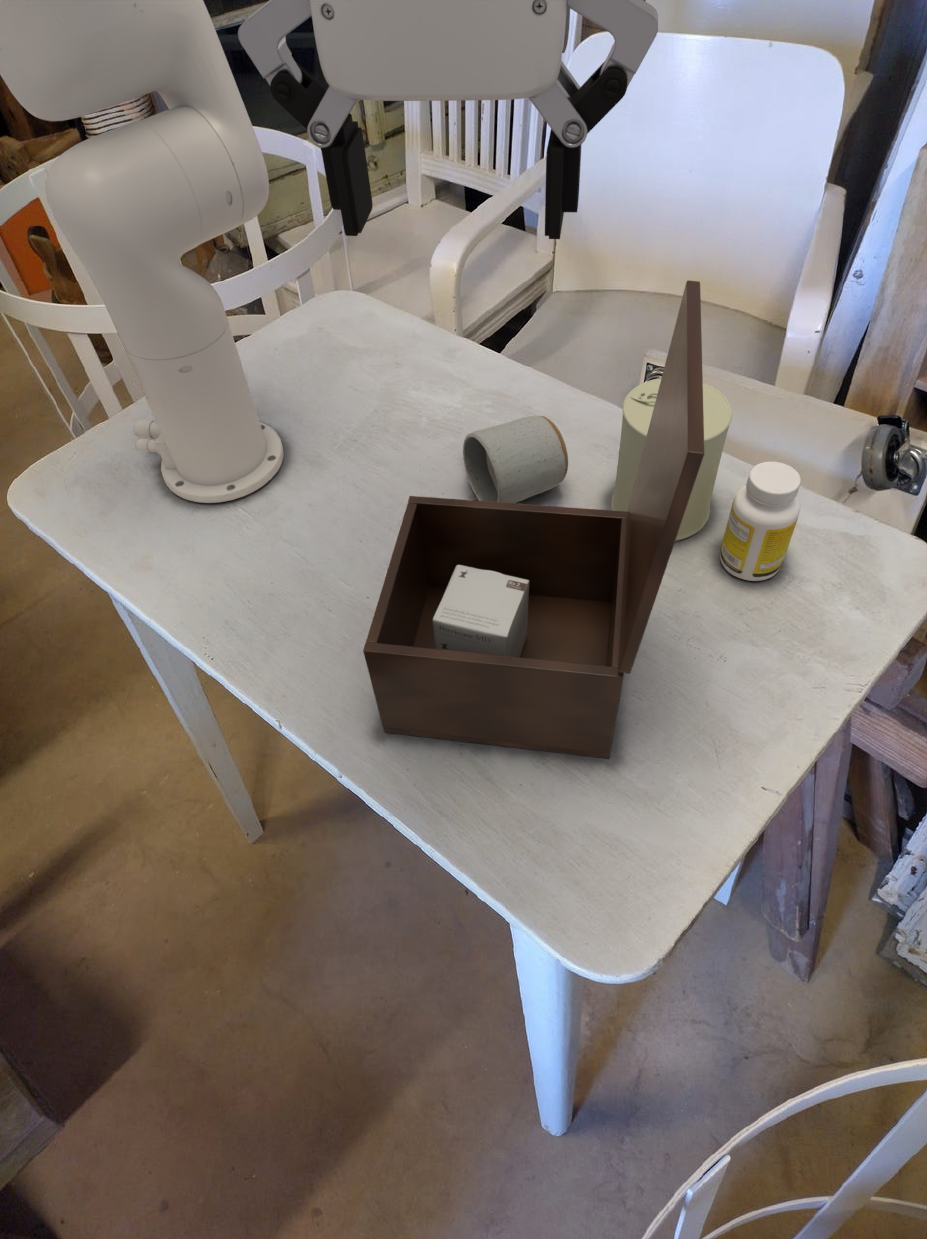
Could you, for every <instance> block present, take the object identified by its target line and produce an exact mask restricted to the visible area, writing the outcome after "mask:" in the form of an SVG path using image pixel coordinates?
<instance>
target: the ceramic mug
mask: <svg viewBox="0 0 927 1239" xmlns="http://www.w3.org/2000/svg"><path fill="white" fill-rule="evenodd" d="M462 457H463V464H464V469H465V472H466V476H467V479H468V482H469V485H470V487H471V489H472V492H473V493H474V495H475V497H476V498H477V501H487V502H501V503H515V504H518V503H519V502H521V501H524V500H526V499H529V498H531V497H534V496H537V495H540V494H543V493H544V492H547V491H549V490H552V489H553V488H555V487H557V486H558V485H559V484H561V483H562V482H563V481H564V480H565V478H566V475H567V473H568V469H569V454H568V449H567V445H566V442H565V440H564V437H563V435H562V433H561V431H560V429H559V428H558V426H557V425H556V423H554V422H553V421H552V420H551V419H549V418H547V417H546V416H543V415H532V416H525V417H521V418H518V419H514V420H511V421H509V422H505V423H501V424H497V425H494V426H490V427H486V428H483V429H478V430H475V431H472V432H469V433H468V434H467V435H466V436H465V438H464V440H463V444H462Z"/></svg>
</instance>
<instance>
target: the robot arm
mask: <svg viewBox="0 0 927 1239" xmlns="http://www.w3.org/2000/svg"><path fill="white" fill-rule="evenodd" d="M571 10H572V11H573V12H575V13H577V14H579V15H580V16H582V17H583V18H585V19H586V20H589V21H590V22H592V23H593V24H595V25H596V26H598V27H599V28H601V29H603V30H604V31H606V32H608V33H609V34H610V35H611V36H612V37H613V41H614V42H613V44H612V45H611V48H610V50H609V52H608V55H607V56H606V58H605V60H604V61H603V62H602V63H601V64H600V66H598V68H597V69H596V70H595V71H594V72H593V73H592V74H591V75H590V76H589V77H588V78H587V80H586V81H585V82H584V83H583V84H582V85H581V86H580V84H579V83H578V81H577V80H576V79H575V76H573V74H572V73H571V72H570V70H569V68H568V67H567V66H566V65H565V63H564V62H563V60H562V59H563V58H562V57H563V54H565V52H566V50H567V47H568V43H569V33H570V24H571V23H570V22H571V21H570V20H571ZM310 18H311V19H312V20H311V21H312V26H313V27H312V28H313V34H314V40H315V45H316V46H315V47H316V51H317V56H318V60H319V65H320V68H321V71H322V74H323V77H324V80H325V81H326V83H327V85H328V88H327V89H326V88H324V87H323V85H321V83H319V81H317V80H316V78H314V76H312V75H311V74H310V72H308V71H307V70H306V69H305V68H304V67H303V66H302V65H301V64H299V62H296V61H295V58H294V57H293V56H292V54H293V53H292V51H291V49H290V48H289V46H288V44H287V38H286V37H287V35H288V34H289V33H291V32H293V31H294V30H295V29H296V28H298V27H299V26H300V25H302V24H303V23H305V22H306V21H307V20H308V19H310ZM658 32H659V13H658V11H657V9H656V8H655V7H654V5H652V4H650V3H649V2H647V1H645V0H268V1H267V2H266V3H264V4H263V5H261V6H260V7H259V8H258V9H257V10H255V11H254V12H253V13H251V14H250V15H249V16H248V18H246V19H245V20H244V22H242V23H241V24H240V26H239V28H238V31H237V37H238V38H237V39H238V41H239V43H240V45H241V46H242V48H243V49H244V50H245V53H246V55H247V56H248V57H249V58H250V59H251V61H252V63H253V65H254V66H255V68H256V69H257V71H258V72H259V74H260V75H261V77H262V78H263V79H265V81H266V83H268V85H269V89H270V94H271V96H272V97H273V99H274V100H275V102H277V103H278V104H279V105H280V106H281V107H282V108H283V109H284V110H285V111H286V112H287V113H288V114H289V115H291V116H292V117H293V119H295V120H296V121H297V122H298V123H299V125H301V126H302V127H303V128H305V130H306V133H307V137H308V138H309V140H310V142H311V143H312V144H313V145H314V146H316V147H318V148H320V152H321V157H322V163H323V169H324V174H325V178H326V184H327V190H328V196H329V201H330V205H331V209H333V210H334V211H340V214H341V219H342V220H341V221H342V226H343V232H344V235H345V236H346V237H358V235H359V234H362V232H363V230H364V228H365V225H366V223H367V221H368V219H369V217H370V215H371V213H372V210H373V206H374V205H373V204H374V203H373V196H372V189H371V183H370V175H369V168H368V162H367V160H368V159H367V154H366V147H365V141H364V134H363V129H362V127H359V123H358V120H356V121H353V115H352V114H351V111H352V110H353V108H354V107H355V105H356V103H357V102H358V100H359V101H370V102H371V101H372V102H373V101H375V102H449V101H450V102H452V101H453V102H457V101H459V102H460V101H465V102H466V101H512V100H521V99H522V100H523V99H529V101H530V102H531V104H532V105H533V106H534V108H535V109H536V110H537V111H538V113H539V114H540V116H541V117H542V118H543V119H544V121H545V123H546V124H547V125H548V126H549V127H550V131H549V137H548V141H547V147H546V155H545V197H544V198H545V199H544V200H545V201H544V237H548V240H560V239H561V234H562V228H563V222H564V215H565V213H578V209H579V200H580V199H579V198H580V197H579V196H580V183H581V182H580V181H581V163H582V162H581V161H582V160H581V159H582V145H583V143H584V142H585V141H586V139H587V136H588V134H589V133H590V132H591V131H592V130H593V129H594V128H595V127H596V126H597V125H598V124H599V123H600V122H601V121H602V120H603V119H604V118H605V117H606V116H607V115H608V113H610V112H611V110H613V108H615V107H616V106H617V104H618V103H619V102H620V101H621V100H622V99H623V98H624V97H625V96H626V93H627V90H628V88H629V85H630V83H631V82H632V80H633V77H634V76H635V75H636V73H637V71H638V70H639V69H640V67H641V65H642V63H643V61H644V59H645V57H646V55H647V53H648V52H649V50H650V48H651V46H652V44H653V43H654V41H655V39H656V38H657V34H658ZM0 77H1V78H2V80H3V81H4V83H5V85H6V86H7V88H8V90H9V91H10V93H11V95H13V97H14V98H15V100H17V102H18V103H19V104H20V106H22V108H24V109H25V110H26V111H27V112H28V113H29V114H31V115H32V116H33V117H35V118H37V119H40V120H43V121H48V122H64V121H68V120H73V119H77V118H81V117H85V116H88V115H91V114H94V113H97V112H100V111H104V110H106V109H109V108H112V107H115V106H118V105H120V104H123V103H125V102H128V101H132V100H135V99H137V98H140V97H143V96H145V95H148V94H151V93H154V92H156V93H158V94H159V96H160V97H161V98H162V100H163V101H164V103H165V104H166V107H167V109H166V110H163V111H161V112H158V113H156V114H154V115H150V116H148V117H145V118H142V119H139V120H134V121H132V122H128V123H126V124H123V125H121V126H118V127H116V128H115V127H114V128H112V129H109V130H108V131H105V132H101V133H100V134H97V135H94V136H92V137H88V138H86V139H85V140H82V141H81V142H78V143H76V144H75V145H73V146H71V147H70V148H68V149H67V150H65V151H64V152H62V153H61V154H60V155H59V156H58V157H57V158H56V159H55V161H54V162H53V163H52V164H51V166H50V167H49V170H48V171H47V175H46V179H45V196H46V200H47V203H48V208H49V209H50V211H51V213H52V216H53V218H54V220H55V222H56V224H57V226H58V227H59V229H60V231H61V232H62V235H63V236H64V237H65V238H66V240H67V242H68V243H69V245H70V247H71V248H72V250H73V252H74V253H75V255H76V256H77V258H78V260H79V261H80V263H81V265H82V266H83V268H84V270H85V271H86V272H87V274H88V276H89V278H90V280H91V281H92V283H93V285H94V287H95V288H96V290H97V292H98V295H99V296H100V298H101V301H102V302H103V304H104V306H105V308H106V310H107V313H108V315H109V318H110V319H111V321H112V323H113V326H114V329H115V330H116V333H117V335H118V337H119V340H120V342H121V344H122V347H123V348H124V351H125V353H126V355H127V357H128V360H129V362H130V365H131V367H132V369H133V371H134V374H135V377H136V378H137V381H138V383H139V386H140V388H141V390H142V392H143V395H144V397H145V399H146V402H147V404H148V406H149V408H150V411H151V413H152V415H153V418H154V420H151V419H150V420H149V419H148V420H147V419H136V420H135V421H134V423H133V434H134V436H135V437H136V438H137V439H136V441H135V449H136V450H137V452H139V453H140V452H141V453H157V454H158V455H159V456H160V457H161V459H162V460H161V464H160V471H161V475H162V478H163V480H164V482H165V484H166V486H167V487H168V488H169V490H170V491H171V492H172V493H173V494H175V495H176V496H178V497H180V498H182V499H184V500H185V501H190V502H195V503H201V504H203V503H204V504H216V503H223V502H229V501H234V500H237V499H241V498H243V497H246V496H248V495H250V494H252V493H254V492H255V491H257V490H259V489H261V488H262V487H264V486H265V485H266V484H267V483H269V482H270V480H272V479H273V478H274V476H275V475H276V474H277V473H278V472H279V470H280V468H281V466H282V464H283V461H284V455H285V454H284V446H283V443H282V439H281V438H280V436H279V434H278V433H277V431H276V430H274V428H273V427H271V426H269V425H268V424H266V423H264V422H261V421H260V419H259V415H258V412H257V409H256V405H255V402H254V399H253V397H252V392H251V390H250V386H249V383H248V380H247V377H246V374H245V371H244V367H243V364H242V360H241V357H240V354H239V351H238V348H237V344H236V342H235V339H234V335H233V332H232V329H231V325H230V322H229V319H228V316H227V313H226V310H225V307H224V303H223V301H222V298H221V297H220V295H219V293H218V291H217V290H216V289H215V287H214V286H213V285H212V284H211V283H210V282H209V281H208V280H207V279H205V278H204V277H202V276H201V275H200V274H199V273H197V272H196V271H194V270H192V269H190V268H189V267H187V266H184V265H183V264H182V263H181V258H182V257H183V255H185V254H187V253H188V252H189V251H191V250H193V249H196V248H198V247H199V246H200V245H202V244H204V243H206V242H209V241H211V240H212V239H215V238H217V237H219V236H222V235H224V234H226V233H228V232H230V231H232V230H235V229H237V228H239V227H240V226H242V225H245V224H246V223H248V222H250V221H252V220H253V219H255V218H256V217H257V216H259V215H260V214H261V213H262V211H263V210H264V209H265V207H266V205H267V203H268V200H269V194H270V181H269V173H268V168H267V165H266V160H265V158H264V154H263V150H262V148H261V145H260V143H259V140H258V136H257V134H256V132H255V129H254V127H253V123H252V122H251V118H250V116H249V114H248V111H247V108H246V105H245V103H244V101H243V98H242V95H241V93H240V91H239V90H240V89H239V88H238V85H237V82H236V80H235V76H234V75H233V72H232V69H231V67H230V64H229V61H228V59H227V56H226V54H225V50H224V49H223V46H222V43H221V41H220V38H219V36H218V33H217V31H216V28H215V25H214V23H213V20H212V18H211V15H210V13H209V11H208V8H207V6H206V4H205V1H204V0H0Z"/></svg>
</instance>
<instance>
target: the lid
mask: <svg viewBox="0 0 927 1239" xmlns="http://www.w3.org/2000/svg"><path fill="white" fill-rule="evenodd" d="M701 298H702V296H701V282H700V281H699V280H698V281H697V280H686V282H685V286H684V290H683V293H682V298H681V302H680V305H679V309H678V314H677V316H676V321H675V324H674V328H673V333H672V336H671V340H670V344H669V347H668V352H667V356H666V360H665V363H664V367H663V371H662V375H661V377H660V378H661V382H660V386H659V390H658V394H657V398H656V401H655V405H654V409H653V413H652V417H651V421H650V425H649V428H648V432H647V436H646V440H645V444H644V448H643V452H642V456H641V459H640V463H639V467H638V471H637V475H636V479H635V483H634V486H633V490H632V494H631V498H630V502H629V506H628V519H627V536H626V553H625V569H624V586H623V603H622V620H621V636H620V653H619V670H618V671H619V672H621V673H624V674H627V675H628V674H629V675H630V674H631V672H632V670H633V667H634V664H635V661H636V659H637V656H638V652H639V649H640V646H641V644H642V641H643V638H644V635H645V631H646V630H647V626H648V623H649V620H650V618H651V614H652V611H653V608H654V606H655V603H656V599H657V596H658V593H659V590H660V587H661V584H662V582H663V578H664V575H665V573H666V569H667V567H668V563H669V560H670V558H671V554H672V552H673V549H674V546H675V543H676V541H675V540H676V537H677V534H678V531H679V528H680V525H681V522H682V519H683V516H684V513H685V511H686V508H687V505H688V502H689V499H690V496H691V493H692V490H693V487H694V484H695V481H696V478H697V475H698V472H699V469H700V466H701V463H702V460H703V457H704V415H703V383H704V381H703V338H702V337H703V336H702V335H703V334H702V302H701V301H702V300H701Z"/></svg>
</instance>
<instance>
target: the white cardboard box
mask: <svg viewBox="0 0 927 1239" xmlns="http://www.w3.org/2000/svg"><path fill="white" fill-rule="evenodd" d="M528 599H529V580H526V579H522V578H517V577H513V576H509V575H504V574H501V573H499V572H495V571H490V570H482V569H477V568H473V567H468V566H463V565H457V566H456V567H455V570H454V572H453V574H452V576H451V579H450V581H449V583H448V586H447V588H446V591H445V593H444V595H443V598H442V600H441V602H440V604H439V606H438V609H437V611H436V613H435V615H434V617H433V629H434V638H435V647H436V649H440V650H450V651H460V652H470V653H480V654H490V655H500V656H510V657H520V655H521V652H522V649H523V646H524V643H525V640H526V637H527V624H528Z"/></svg>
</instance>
